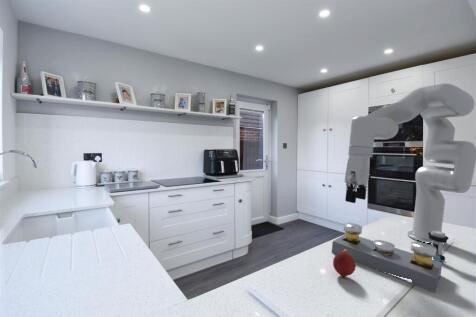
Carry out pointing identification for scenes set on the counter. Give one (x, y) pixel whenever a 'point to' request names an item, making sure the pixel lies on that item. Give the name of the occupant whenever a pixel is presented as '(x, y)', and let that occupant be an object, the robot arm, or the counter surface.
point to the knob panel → (391, 262)
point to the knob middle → (383, 247)
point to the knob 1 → (352, 232)
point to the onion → (344, 263)
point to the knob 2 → (423, 254)
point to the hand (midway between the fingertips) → (355, 200)
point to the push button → (438, 244)
